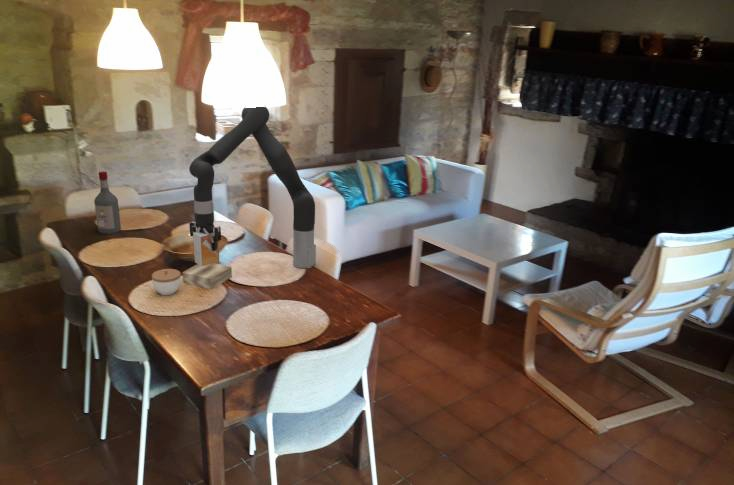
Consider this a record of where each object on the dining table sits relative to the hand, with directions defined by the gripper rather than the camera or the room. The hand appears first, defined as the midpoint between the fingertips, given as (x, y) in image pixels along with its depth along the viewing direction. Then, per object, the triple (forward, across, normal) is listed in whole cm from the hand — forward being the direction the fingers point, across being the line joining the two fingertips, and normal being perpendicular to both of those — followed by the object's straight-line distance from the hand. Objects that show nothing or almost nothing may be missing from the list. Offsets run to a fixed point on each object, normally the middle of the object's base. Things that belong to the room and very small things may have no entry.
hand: (206, 248), depth 235 cm
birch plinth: (+14, 0, 0) cm, 14 cm away
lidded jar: (+14, +6, +17) cm, 23 cm away
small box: (+6, 0, 0) cm, 6 cm away
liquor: (+14, +79, -22) cm, 83 cm away
